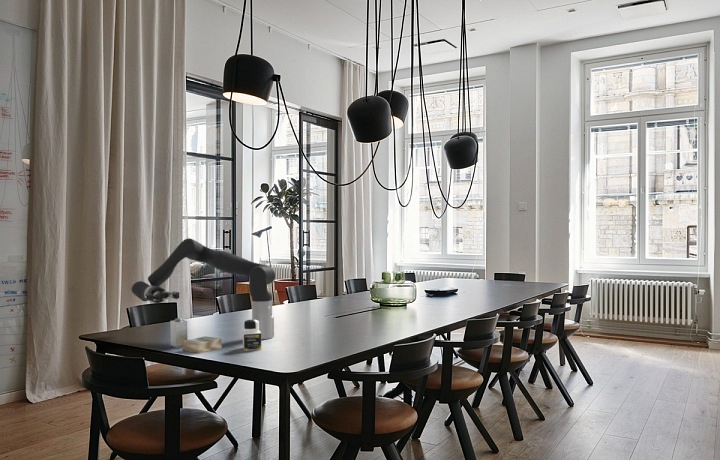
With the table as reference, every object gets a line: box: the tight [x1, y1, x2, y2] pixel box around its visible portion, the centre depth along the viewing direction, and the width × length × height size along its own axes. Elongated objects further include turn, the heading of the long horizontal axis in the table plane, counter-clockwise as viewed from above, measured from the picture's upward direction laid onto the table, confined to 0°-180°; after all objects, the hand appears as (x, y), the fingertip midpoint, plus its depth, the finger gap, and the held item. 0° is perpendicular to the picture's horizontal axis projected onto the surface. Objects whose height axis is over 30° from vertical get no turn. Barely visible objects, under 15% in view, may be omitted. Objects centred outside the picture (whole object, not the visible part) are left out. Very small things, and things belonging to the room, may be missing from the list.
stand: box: [182, 336, 223, 354], centre depth 243 cm, size 12×10×4 cm
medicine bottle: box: [242, 319, 262, 352], centre depth 243 cm, size 7×7×12 cm
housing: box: [169, 317, 188, 349], centre depth 250 cm, size 7×5×12 cm
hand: (168, 297), depth 259 cm, fingers open, 8 cm apart
